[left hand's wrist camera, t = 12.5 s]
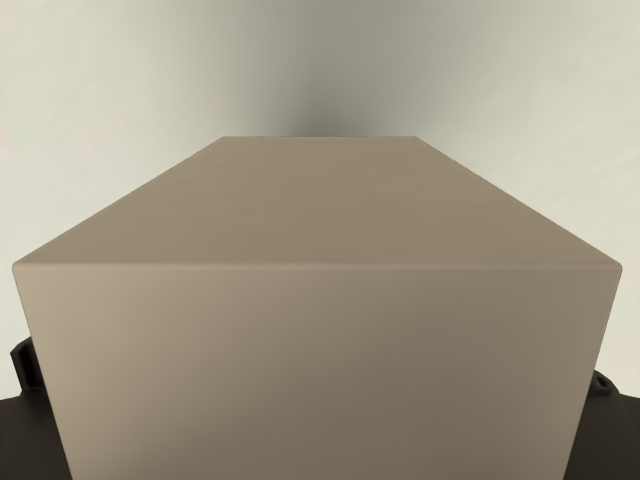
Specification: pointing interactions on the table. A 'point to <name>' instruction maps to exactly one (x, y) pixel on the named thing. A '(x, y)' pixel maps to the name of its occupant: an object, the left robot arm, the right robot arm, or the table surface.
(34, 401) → the left robot arm
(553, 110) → the table surface
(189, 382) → the box
